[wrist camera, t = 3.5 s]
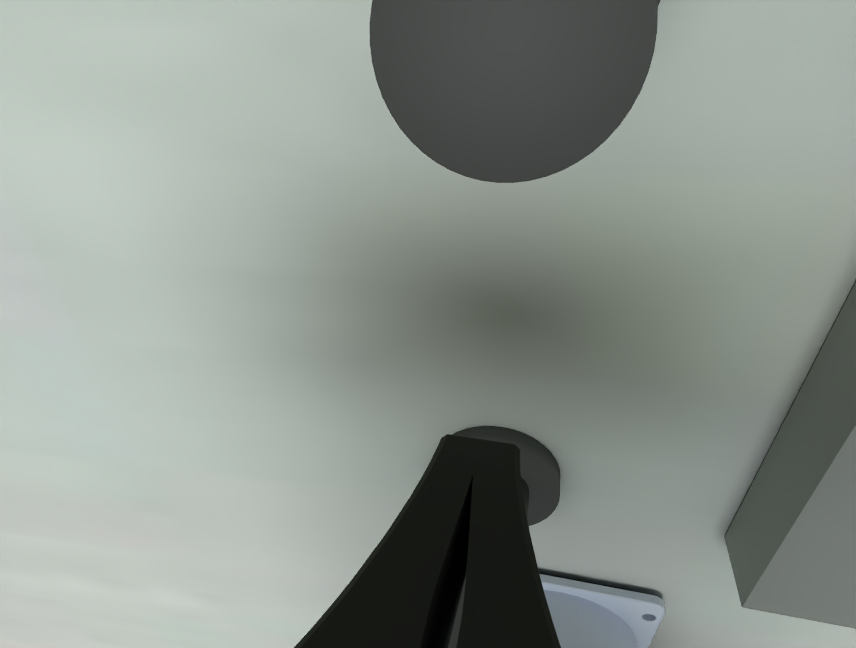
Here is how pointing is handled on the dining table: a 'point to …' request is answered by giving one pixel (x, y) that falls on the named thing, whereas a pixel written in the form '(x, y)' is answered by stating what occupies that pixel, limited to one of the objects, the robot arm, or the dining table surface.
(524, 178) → the dark flanged peg
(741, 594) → the breaker panel
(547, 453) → the gray flanged cylinder
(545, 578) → the robot arm
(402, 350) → the dining table surface
